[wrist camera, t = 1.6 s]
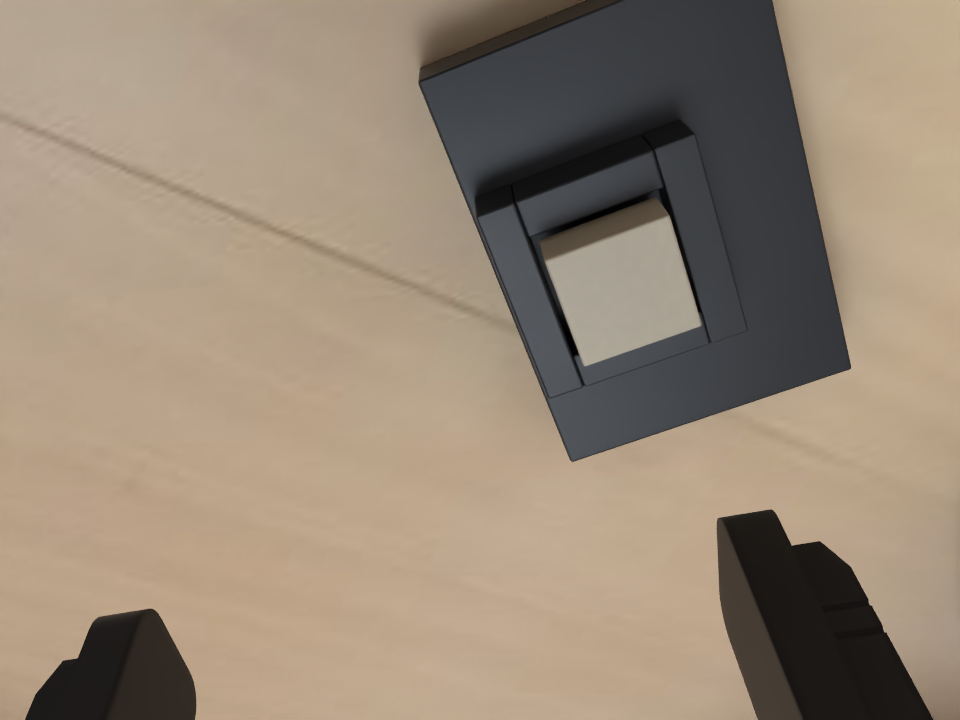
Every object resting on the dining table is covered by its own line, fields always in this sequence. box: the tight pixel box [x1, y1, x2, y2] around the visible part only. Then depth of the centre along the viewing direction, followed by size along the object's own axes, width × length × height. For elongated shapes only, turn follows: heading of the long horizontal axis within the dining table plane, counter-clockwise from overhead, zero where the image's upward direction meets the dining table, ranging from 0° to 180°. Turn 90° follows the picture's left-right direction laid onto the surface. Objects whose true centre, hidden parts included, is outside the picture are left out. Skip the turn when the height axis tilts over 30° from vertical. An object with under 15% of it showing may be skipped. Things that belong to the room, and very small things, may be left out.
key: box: [540, 197, 702, 366], centre depth 26 cm, size 4×4×2 cm
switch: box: [419, 0, 851, 462], centre depth 28 cm, size 14×10×4 cm
